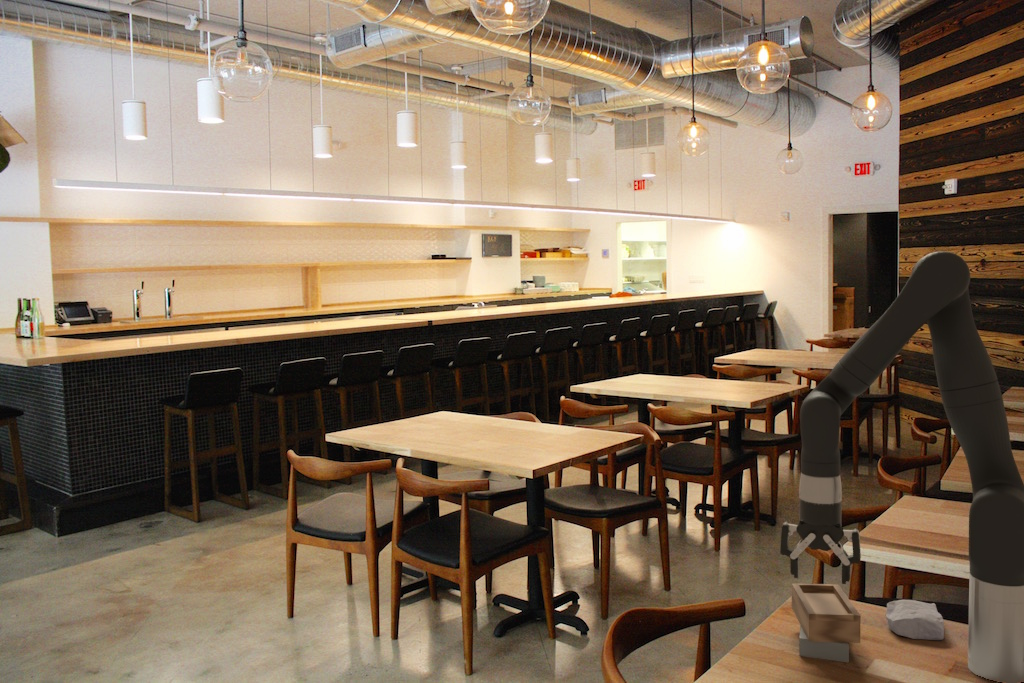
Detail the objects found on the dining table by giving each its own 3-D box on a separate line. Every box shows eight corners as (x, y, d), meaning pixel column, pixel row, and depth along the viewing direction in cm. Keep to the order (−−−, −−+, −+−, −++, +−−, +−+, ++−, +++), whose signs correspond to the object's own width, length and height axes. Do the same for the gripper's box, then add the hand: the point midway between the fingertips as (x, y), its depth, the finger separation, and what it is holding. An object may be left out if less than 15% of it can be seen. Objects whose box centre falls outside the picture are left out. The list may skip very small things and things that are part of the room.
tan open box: (838, 609, 162) (838, 584, 161) (860, 643, 147) (860, 615, 146) (791, 608, 163) (791, 583, 163) (808, 641, 148) (809, 613, 148)
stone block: (893, 645, 157) (950, 641, 154) (888, 621, 157) (944, 616, 154) (884, 622, 168) (936, 618, 165) (879, 599, 168) (932, 595, 165)
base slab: (847, 631, 161) (847, 612, 160) (848, 665, 147) (848, 644, 146) (801, 626, 164) (801, 607, 163) (799, 658, 150) (799, 638, 150)
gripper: (861, 495, 154) (860, 578, 155) (783, 488, 160) (783, 568, 161) (860, 505, 147) (859, 592, 148) (778, 498, 153) (778, 581, 154)
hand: (819, 579), depth 155 cm, fingers open, 8 cm apart
